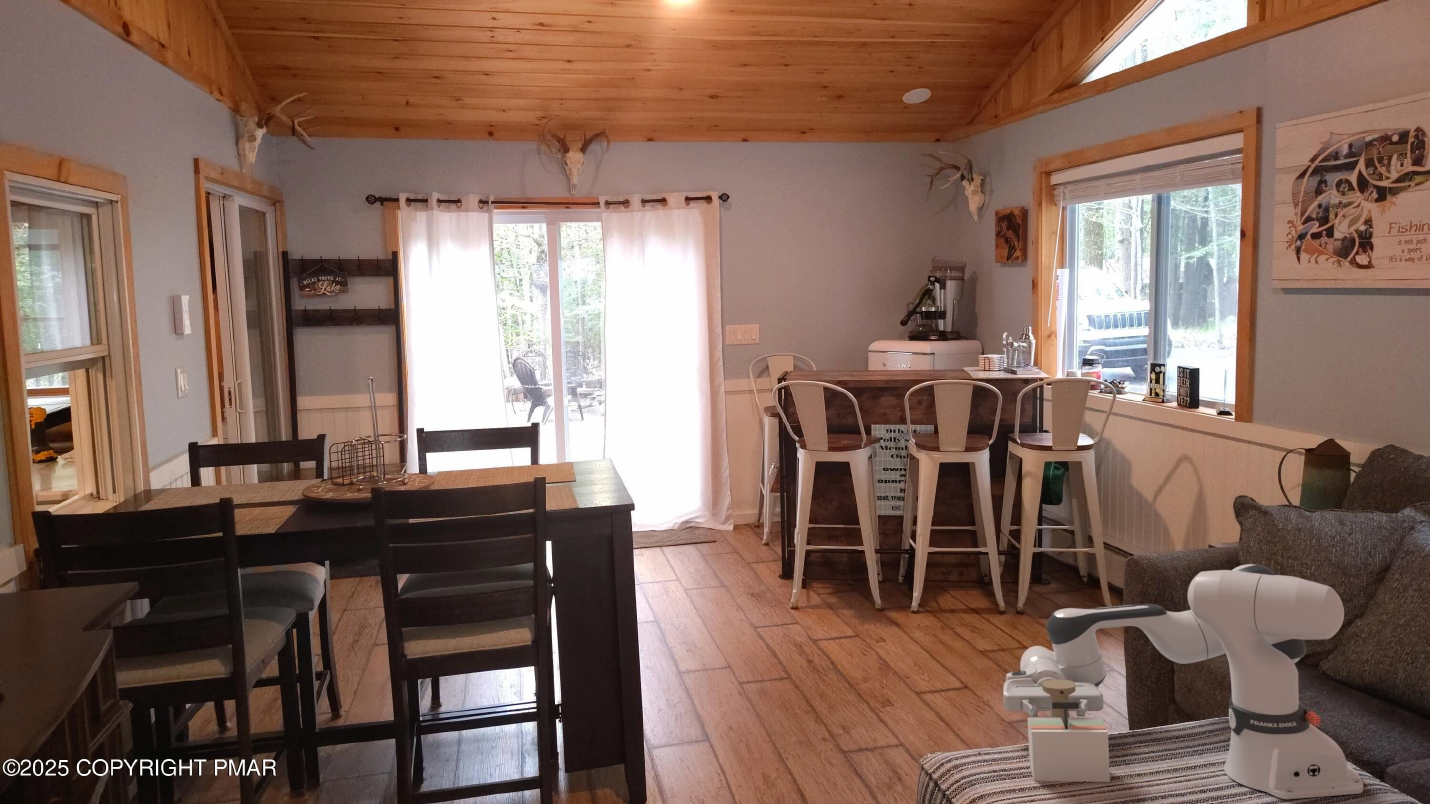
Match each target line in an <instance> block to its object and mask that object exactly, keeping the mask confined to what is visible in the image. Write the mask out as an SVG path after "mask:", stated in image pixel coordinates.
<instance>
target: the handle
mask: <svg viewBox="0 0 1430 804" xmlns="http://www.w3.org/2000/svg"><path fill="white" fill-rule="evenodd" d="M1042 689H1043V691H1044V692H1046V693H1047V694H1049V695H1050V697H1051V711H1050V718H1061V719H1062V721H1063V724H1064V709H1052V702H1068V696H1069V695H1070V694H1072V693H1074V692H1075V691H1076V686H1075V683H1074V682H1073V681H1070V680H1062V679H1056V680H1047V681H1043V682H1042ZM1067 715H1068V718H1071V716H1070V711H1069V709H1067Z"/></svg>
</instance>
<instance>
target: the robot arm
mask: <svg viewBox="0 0 1430 804" xmlns="http://www.w3.org/2000/svg"><path fill="white" fill-rule="evenodd" d="M1187 589H1188V590H1187V602H1188V606H1189V608H1190V609H1189V610H1183V611H1179V612H1178V611H1168V610H1166V609H1165V608H1164V606H1163V607H1162V606H1161V605H1159V604H1156V603H1134V604H1131V603H1130V604H1123V605H1121V604H1119V605H1111V606H1110V605H1109V606H1108V605H1107V606H1098V607H1067V608H1061V609H1057V610H1055V611H1053V612H1052V613H1051V615H1050V616H1049V617H1048V620H1047V622H1046V625H1045V631H1046V634H1047V636H1048V639H1049V641H1050V643H1051V645H1052V649H1053V650H1050V649H1049V648H1047V647H1044V646H1042V645H1034V646H1030V647H1028V649H1026V650H1025V651H1024V653H1022V656H1021V658H1020V664H1019V665H1020V666H1019V668H1020V670H1018V671H1012V672H1007V673H1006V675H1005V676H1006V677H1005V682H1004V684H1003V686H1002V687H1003V689H1002V692H1003V693H1002V694H1003V695H1002V696H1003V708H1004V710H1006V711H1008V712H1024V713H1027V714H1028V715H1029V717H1030V718H1034V717H1038V712H1051V697H1050V695H1049V694H1047V693H1046V692H1044V691H1043V689H1042V682H1043V681H1047V680H1056V679H1062V680H1070V681H1073V682H1074V683H1075V686H1076V691H1075V692H1074V693H1072V694H1070V695H1069V696H1068V702H1079V709H1069V712H1076V715H1077V717H1086V713H1087V712H1099V711H1102V710H1103V709H1104V696H1103V695H1104V694H1103V693H1102V691H1101V689H1099V687H1100V685H1101V684H1102V683H1103V682H1104V680H1105V679H1106V676H1107V672H1106V668H1105V665H1104V660H1103V657H1102V654H1101V652H1100V651H1101V650H1100V647H1099V643H1098V640H1097V636H1096V632H1097V630H1099V629H1106V628H1107V629H1109V628H1121V627H1130V626H1131V627H1137V628H1138V629H1141V630H1142V631H1143V633H1144V634H1145V635H1146V636H1147V637H1148V639H1149V640H1150V642H1151V643H1152V645H1153V646H1154V647H1155V648H1156V650H1157V651H1158V652H1159V653H1160V654H1161V655H1162V656H1164V657H1165V658H1167V659H1168V660H1170V661H1172V662H1174V663H1178V664H1191V663H1192V664H1193V663H1197V662H1201V661H1206V660H1209V659H1213V658H1216V657H1218V656H1221V655H1224V654H1225V655H1226V657H1227V661H1228V664H1229V665H1228V666H1229V674H1230V683H1231V697H1230V698H1229V707H1228V722H1229V727H1230V731H1231V732H1230V740H1229V749H1228V753H1227V757H1226V760H1225V763H1224V767H1223V768H1224V772H1225V773H1226V775H1227V776H1228V777H1229V778H1230V779H1232V780H1233V781H1235V782H1237V783H1239V784H1240V785H1243V786H1246V787H1248V788H1250V789H1254V790H1259V791H1262V792H1266V793H1267V794H1269V795H1272V796H1274V797H1277V798H1279V799H1283V800H1292V799H1293V800H1295V799H1305V798H1307V799H1308V798H1317V797H1319V798H1320V797H1331V796H1332V797H1333V796H1343V795H1355V794H1357V795H1358V794H1362V793H1363V792H1364V782H1363V780H1362V778H1361V776H1360V775H1359V774H1358V772H1357V771H1356V770H1355V769H1354V768H1353V767H1352V766H1350V765H1349V763H1348V762H1347V758H1346V756H1345V754H1344V751H1343V750H1342V748H1341V747H1340V746H1339V745H1338V743H1337V742H1336V741H1334V739H1332V738H1331V737H1330V736H1328V735H1327V734H1326V733H1324V732H1323V731H1322V730H1320V729H1318V728H1317V726H1319V725H1320V724H1321V723H1322V722H1321V721H1322V720H1321V717H1320V716H1319V715H1317V713H1316V712H1314V711H1311V710H1310V708H1309V707H1307V706H1305V705H1304V704H1302V703H1301V702H1300V699H1299V698H1300V697H1299V672H1298V669H1297V666H1296V663H1297V662H1299V661H1300V660H1301V658H1304V657H1305V655H1306V653H1307V647H1306V642H1305V640H1329V639H1331V638H1332V637H1333V636H1335V635H1336V634H1337V633H1338V632H1339V630H1340V629H1341V627H1342V625H1343V622H1344V620H1345V619H1344V618H1345V610H1344V609H1345V608H1344V603H1343V602H1342V599H1341V598H1340V597H1341V596H1339V594H1338V592H1336V591H1335V589H1334V588H1333V587H1331V586H1330V585H1329V586H1328V585H1326V584H1323V583H1322V584H1321V583H1319V582H1316V581H1312V580H1308V579H1304V578H1301V577H1296V576H1293V575H1281V574H1280V573H1277V572H1276V573H1275V572H1274V571H1273V570H1272V569H1271V568H1270V567H1268V566H1266V565H1263V564H1253V563H1248V564H1242V565H1239V566H1237V567H1234V568H1233V569H1232V570H1230V569H1218V570H1217V569H1216V570H1206V571H1200V572H1199V573H1198V574H1196V575H1195V576H1194V577H1193V579H1192V580H1191V582H1190V584H1189V586H1188V588H1187Z"/></svg>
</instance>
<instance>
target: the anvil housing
mask: <svg viewBox="0 0 1430 804" xmlns="http://www.w3.org/2000/svg"><path fill="white" fill-rule="evenodd" d="M1108 731H1109V730H1108V729H1107V726H1106V724H1105V722H1104V721H1103V718H1102V717H1070V718H1068V729H1065V726H1064V724H1063V721H1062V719H1061V718H1051V717H1027V733H1028V755H1029V757H1028V759H1029V767H1030V771H1031V775H1032V778H1033V781H1034V782H1083V783H1084V781H1085V782H1087V783H1088V782H1090V783H1091V782H1093V783H1094V782H1095V783H1097V782H1098V783H1101V782H1102V783H1110V782H1111V778H1110V777H1111V776H1110V754H1109V753H1110V751H1109V747H1110V746H1109V732H1108Z"/></svg>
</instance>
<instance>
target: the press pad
mask: <svg viewBox="0 0 1430 804" xmlns="http://www.w3.org/2000/svg"><path fill="white" fill-rule="evenodd" d="M1052 709H1064V726H1065V729H1068V715H1067V709H1079V702H1052Z"/></svg>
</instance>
